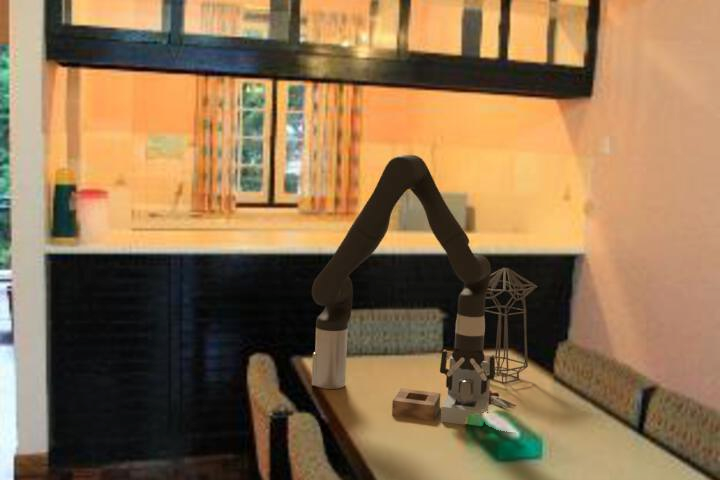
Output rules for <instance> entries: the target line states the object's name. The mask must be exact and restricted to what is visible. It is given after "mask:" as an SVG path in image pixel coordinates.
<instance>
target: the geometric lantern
mask: <svg viewBox="0 0 720 480" xmlns="http://www.w3.org/2000/svg"><path fill="white" fill-rule="evenodd" d="M502 274H503V278H502V279H503V280H501V277H502ZM491 277H492V278H491ZM507 279H508V281H507ZM519 279H520V280H521V281H523V282H525V283H527V284H523V283H522V282H521V281H520V280H519ZM499 282H501V283H502V284H503V285H502V286H503V289H496V288H497V286H498V284H499ZM488 287H490V288H488V290H487V294H489V295H490V296H486V297H485V300H486V299H487V300H488V299H489V300H492V301H493V304H495V305H494V306H489V307H488V306H487V307H485V312H488V313H492V314H495V315H498V320H497V330H496V332H497V333H496V345H495V354H494V355H495V363H496V366H495V376H499V377H501V380H498V379H496V378H494V379H491V380H492V381H496V382H499V383H501V384H507V383H512V382H514V381H518V380H520V373H521V372H522V371H524V370H526V369H527V368H528V367H529V362H528V360H529V359H528V342H527V341H528V340H527V307H526V297H527V296H528V295H529V294H531V293H532V292H533V291H534V290H535V289H536V288H538V286H537V285H536V284H534V283H533V282H531V281H529V280H528V279H527V278H525V277H523V276H521V275H520V274H518V273H517V272H515V271H514V270H512V269H510V268H508V267H502V268H501V269H498V270H497V271H494V272H493V273H491V275H490V281H489V286H488ZM507 287H508V288H509V289H508V290H507ZM512 287H513V288H512ZM526 287H528V288H526ZM519 291H522V293H520V292H519ZM493 292H497V293H496V294H494V293H493ZM504 292H507V293H509V295H511V297H510V299H509V300H508V301H507V303H506V304H505V305H501V303H500V302H499V301H498V299H497V298H496V297H497V296H499V295H501V294H502V293H504ZM487 294H486V295H487ZM516 296H517V297H516ZM513 299H514V301H513V302H512V303H511V301H512V300H513ZM517 301H521V303H522V307H523V308H519V307H513V305H514V304H515V303H516V302H517ZM510 303H511V305H510ZM509 305H510V306H509ZM493 308H497V311H498V312H495V311H491V310H487V309H493ZM502 308H504V313H503V312H502V311H501V310H502ZM510 309H513V310H519V311H520V312H512V313H508V312H509V311H510ZM518 314H523V324H524V325H523V330H524V361H521V360H517V359H513V358H509V333H508V330H509V329H508V327H509V325H508V324H509V323H508V316H510V315H513V316H514V315H518ZM502 316H503V317H504V318H503V320H504V323H503V324H504V325H503V326H504V328H503V330H504V331H503V356H501V340H502V337H501V336H502ZM501 359H502V361H501ZM505 360H506V367H503V364H504V362H505ZM484 361H486V360H484ZM509 361H511V362H515V363H518V364H519V363H520V364H521V365H522V364H523V365H522V366H518V367H512V368H509ZM510 371H513V373H510V374H508V373H509V372H510ZM508 376H509V377H512V378H515V379H512V380H511V379H510V380H508V381H507V378H508ZM504 378H505V381H504Z"/></svg>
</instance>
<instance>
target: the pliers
mask: <svg viewBox="0 0 720 480" xmlns="http://www.w3.org/2000/svg"><path fill="white" fill-rule="evenodd" d="M489 403H491V404H492V405H496V406H499V407H503V408H505V409H510V407H517V404H514V403H513V402H510V401H508V400H507V399H505V398H502V397H500V394H499V392H493V391H492V390H490V389H489Z"/></svg>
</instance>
